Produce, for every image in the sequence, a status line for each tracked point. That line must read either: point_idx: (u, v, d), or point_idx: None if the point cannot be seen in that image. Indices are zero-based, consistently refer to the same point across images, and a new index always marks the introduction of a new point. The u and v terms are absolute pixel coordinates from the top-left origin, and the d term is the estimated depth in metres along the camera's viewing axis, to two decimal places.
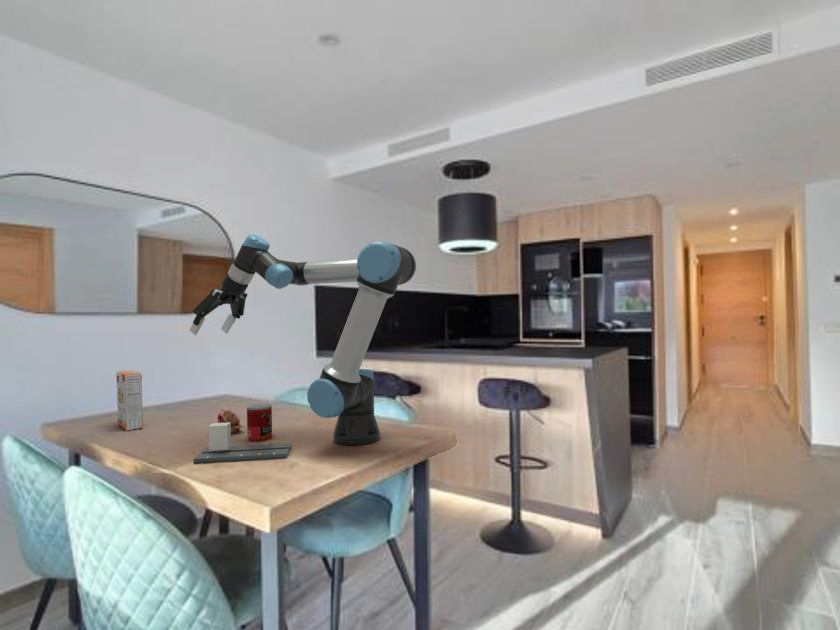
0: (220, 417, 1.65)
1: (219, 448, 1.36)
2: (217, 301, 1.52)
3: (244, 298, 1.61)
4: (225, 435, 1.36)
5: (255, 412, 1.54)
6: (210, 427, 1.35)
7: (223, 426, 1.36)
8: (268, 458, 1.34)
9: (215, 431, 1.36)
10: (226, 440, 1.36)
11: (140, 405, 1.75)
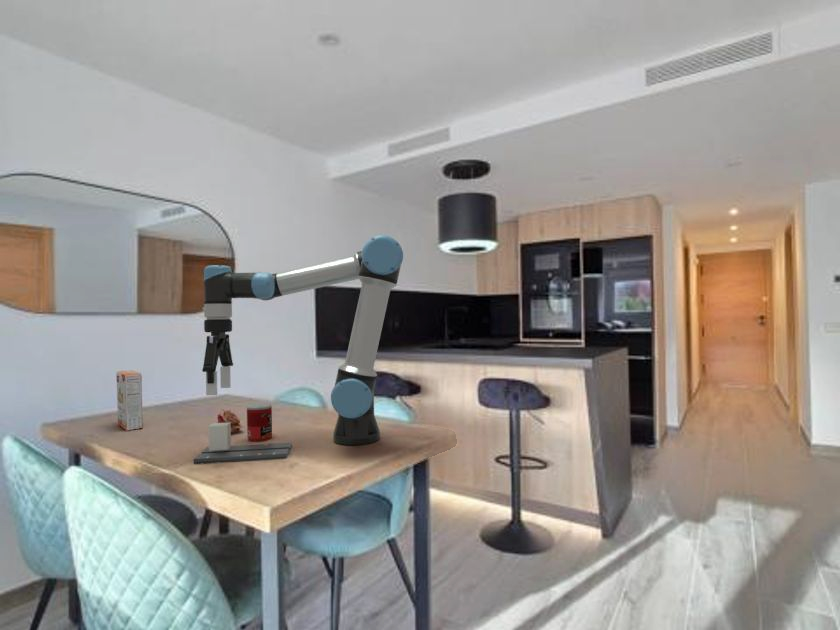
0: (220, 417, 1.65)
1: (219, 448, 1.36)
2: (215, 349, 1.34)
3: (228, 340, 1.45)
4: (225, 435, 1.36)
5: (255, 412, 1.54)
6: (210, 427, 1.35)
7: (223, 426, 1.36)
8: (268, 458, 1.34)
9: (215, 431, 1.36)
10: (226, 440, 1.36)
11: (140, 405, 1.75)
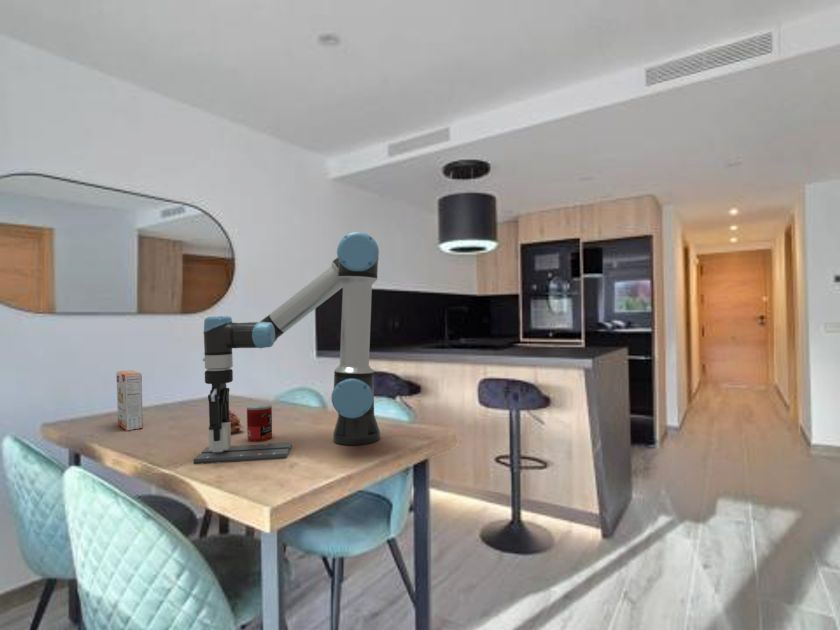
0: None
1: None
2: None
3: (228, 393, 1.43)
4: (225, 435, 1.36)
5: (255, 412, 1.54)
6: None
7: (223, 426, 1.36)
8: (268, 458, 1.34)
9: None
10: (226, 440, 1.36)
11: (140, 405, 1.75)
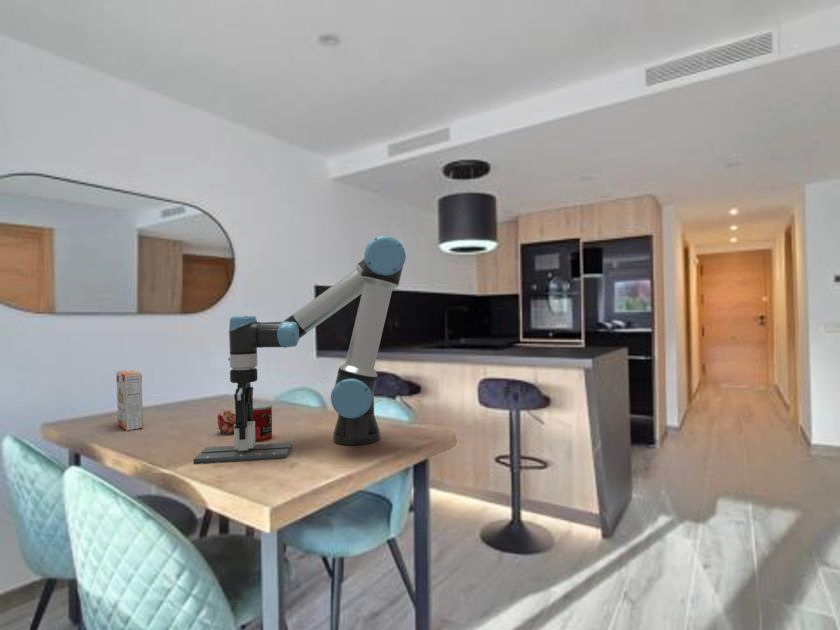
0: (220, 417, 1.65)
1: None
2: None
3: (252, 392, 1.44)
4: (250, 434, 1.37)
5: (255, 412, 1.54)
6: None
7: (248, 425, 1.37)
8: (268, 458, 1.34)
9: None
10: (251, 439, 1.37)
11: (140, 405, 1.75)
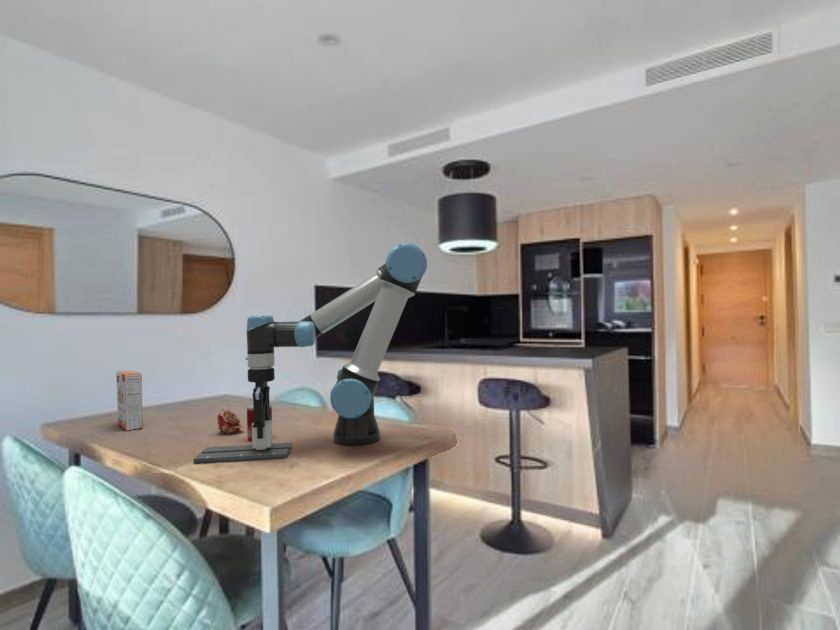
0: (220, 417, 1.65)
1: None
2: None
3: None
4: (268, 433, 1.38)
5: None
6: (253, 425, 1.37)
7: (266, 424, 1.38)
8: (268, 458, 1.34)
9: None
10: (269, 438, 1.38)
11: (140, 405, 1.75)
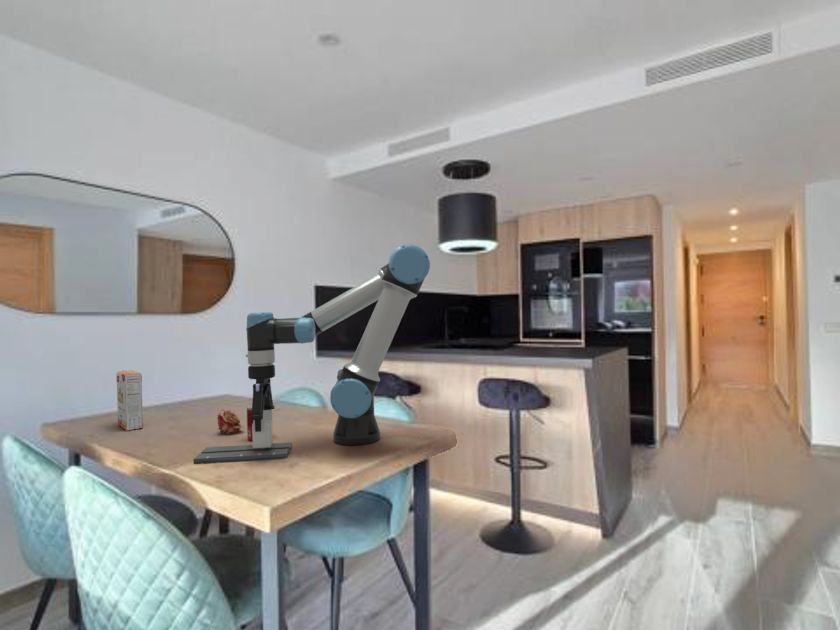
0: (220, 417, 1.65)
1: (262, 446, 1.37)
2: None
3: (270, 384, 1.46)
4: (268, 433, 1.38)
5: None
6: None
7: (266, 424, 1.38)
8: (268, 458, 1.34)
9: None
10: (269, 438, 1.38)
11: (140, 405, 1.75)
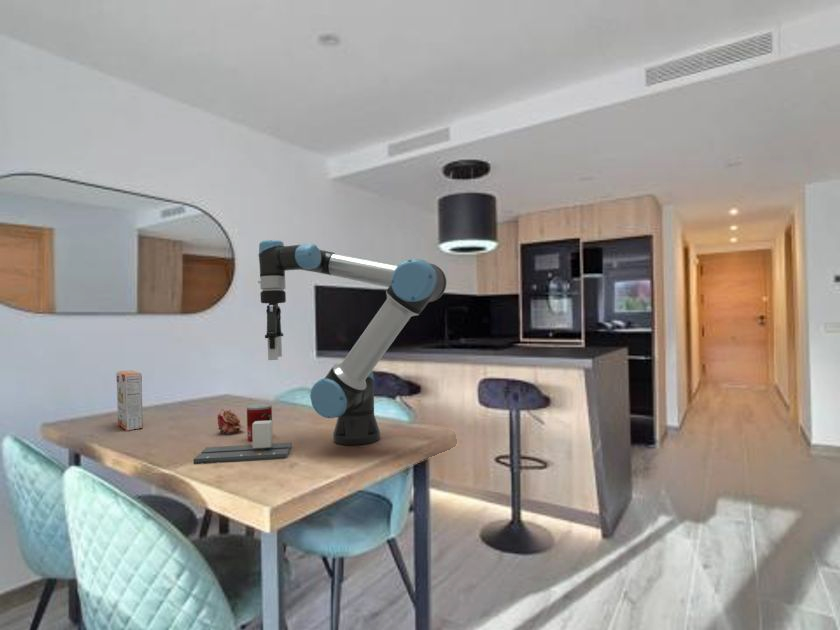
0: (220, 417, 1.65)
1: (262, 446, 1.37)
2: None
3: None
4: (268, 433, 1.38)
5: (255, 412, 1.54)
6: (254, 425, 1.37)
7: (266, 424, 1.38)
8: (268, 458, 1.34)
9: (259, 429, 1.37)
10: (269, 438, 1.38)
11: (140, 405, 1.75)
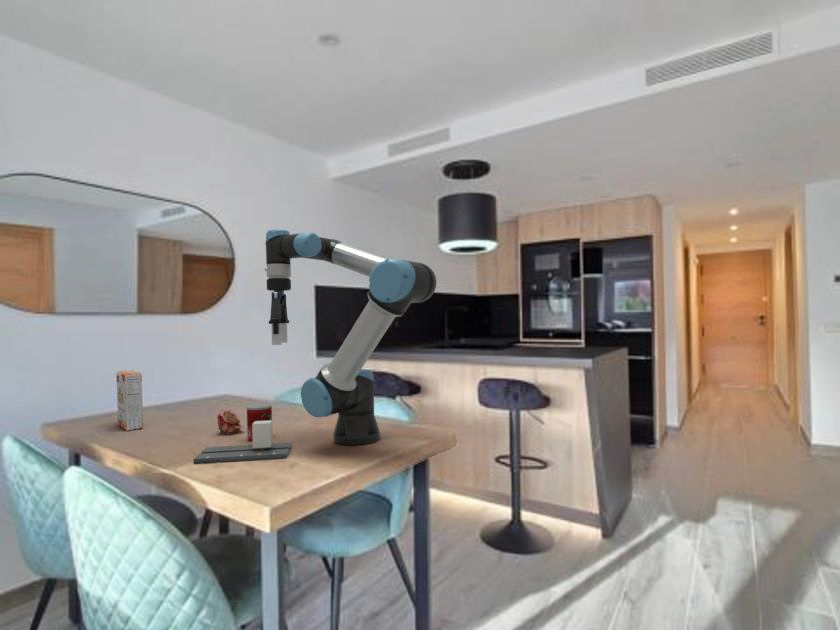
0: (220, 417, 1.65)
1: (262, 446, 1.37)
2: None
3: None
4: (268, 433, 1.38)
5: (255, 412, 1.54)
6: (254, 425, 1.37)
7: (266, 424, 1.38)
8: (268, 458, 1.34)
9: (259, 429, 1.37)
10: (269, 438, 1.38)
11: (140, 405, 1.75)
